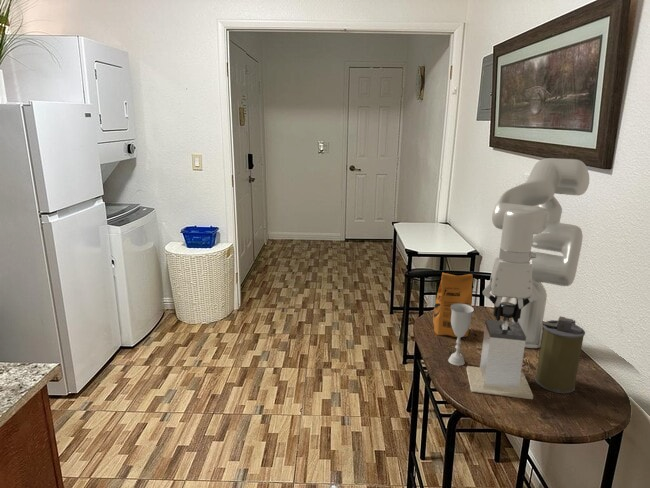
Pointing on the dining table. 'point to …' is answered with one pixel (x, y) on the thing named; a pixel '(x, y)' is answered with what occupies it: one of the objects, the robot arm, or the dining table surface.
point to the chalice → (459, 328)
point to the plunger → (507, 313)
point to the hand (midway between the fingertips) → (506, 319)
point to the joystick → (501, 362)
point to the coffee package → (451, 301)
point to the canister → (559, 355)
